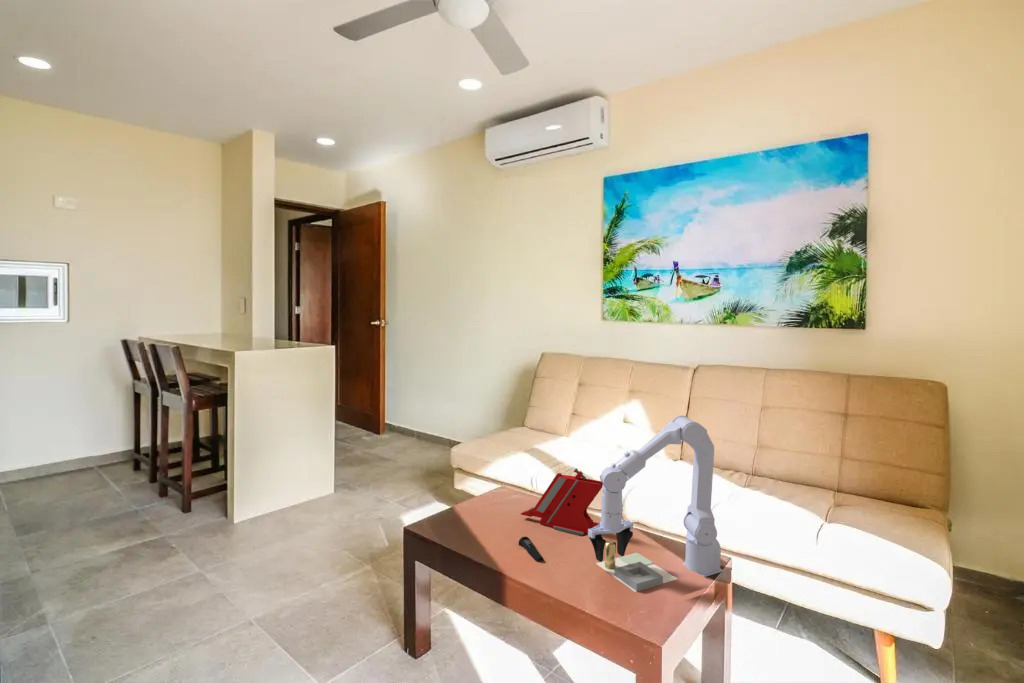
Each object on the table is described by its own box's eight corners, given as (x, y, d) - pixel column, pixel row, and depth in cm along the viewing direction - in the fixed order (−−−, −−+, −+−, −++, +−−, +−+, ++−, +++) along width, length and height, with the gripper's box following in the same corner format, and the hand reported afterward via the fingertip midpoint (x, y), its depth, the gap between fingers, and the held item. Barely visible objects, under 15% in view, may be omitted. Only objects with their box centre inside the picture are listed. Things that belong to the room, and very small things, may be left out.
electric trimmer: (534, 567, 150) (534, 557, 150) (517, 544, 165) (517, 534, 165) (546, 566, 151) (546, 555, 151) (528, 543, 166) (528, 533, 166)
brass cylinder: (610, 563, 151) (611, 539, 150) (617, 567, 148) (618, 543, 147) (602, 565, 149) (603, 541, 149) (609, 570, 147) (609, 545, 146)
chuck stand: (635, 555, 157) (636, 546, 157) (677, 582, 142) (678, 571, 142) (595, 566, 151) (595, 556, 150) (634, 595, 136) (635, 584, 135)
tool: (516, 517, 182) (546, 453, 174) (524, 510, 187) (553, 448, 179) (581, 564, 172) (617, 499, 164) (587, 556, 177) (622, 492, 169)
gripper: (622, 502, 154) (621, 546, 155) (582, 509, 148) (580, 556, 149) (638, 510, 148) (637, 556, 149) (597, 518, 142) (595, 567, 142)
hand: (610, 557), depth 148 cm, fingers open, 7 cm apart
